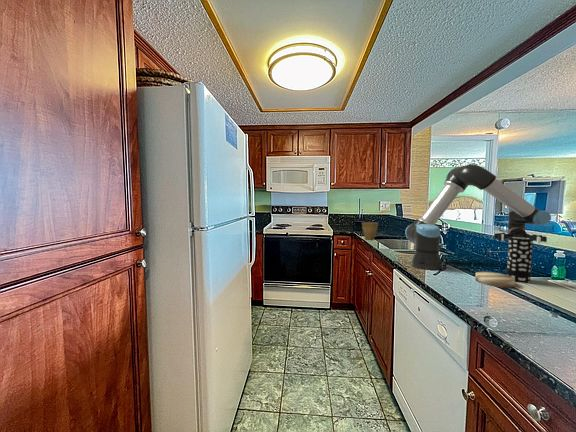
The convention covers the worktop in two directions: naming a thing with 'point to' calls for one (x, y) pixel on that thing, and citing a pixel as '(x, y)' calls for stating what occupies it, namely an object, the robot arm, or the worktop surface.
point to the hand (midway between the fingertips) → (520, 239)
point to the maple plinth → (495, 279)
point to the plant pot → (369, 230)
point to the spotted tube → (520, 258)
